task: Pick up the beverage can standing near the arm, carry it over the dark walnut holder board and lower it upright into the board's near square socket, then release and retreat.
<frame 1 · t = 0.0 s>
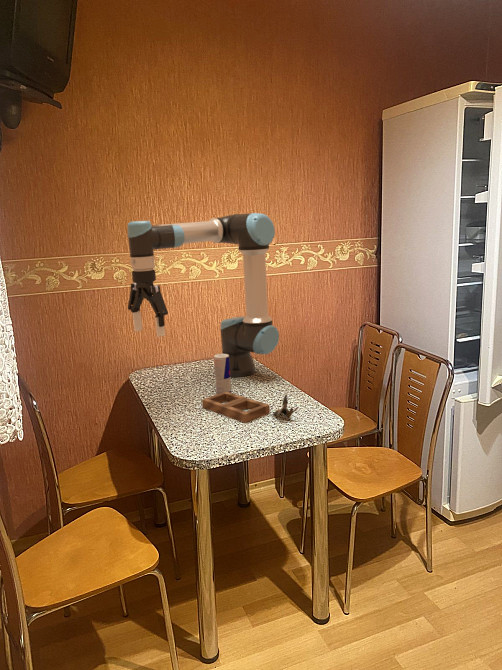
hand: (149, 333, 184), 28 cm above the table, fingers open, 13 cm apart
walnut holder board: (235, 410, 189), on the table
beverage can: (224, 394, 206), on the table
eagle figurine: (284, 417, 181), on the table
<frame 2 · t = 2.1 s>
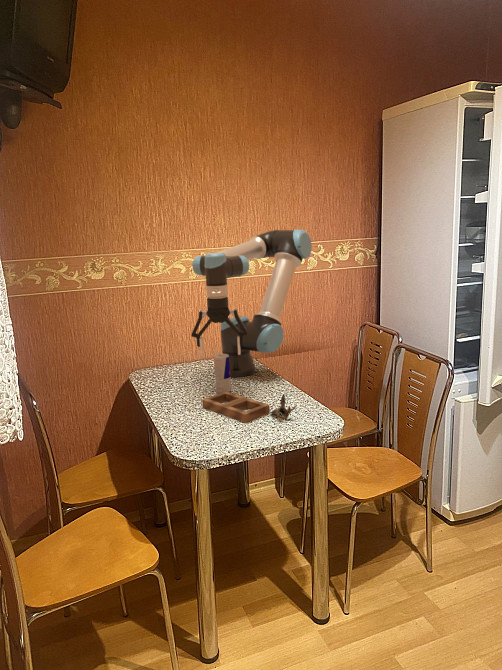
hand: (220, 354, 202), 15 cm above the table, fingers open, 13 cm apart
eagle figurine: (282, 416, 182), on the table
everything else where it was.
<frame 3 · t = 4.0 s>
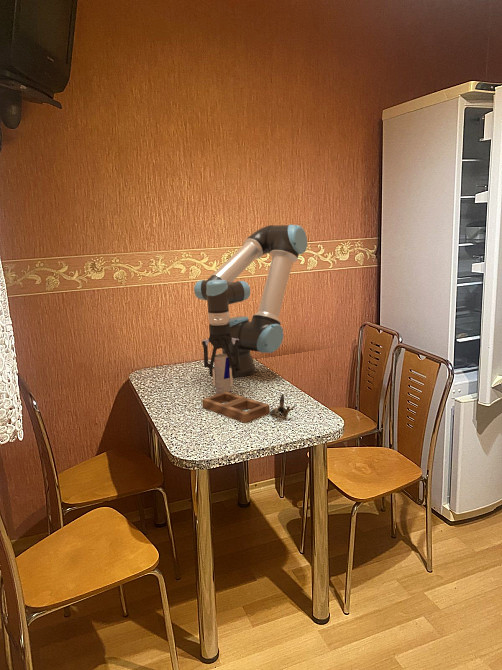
hand: (223, 384, 205), 4 cm above the table, fingers closed on beverage can, 5 cm apart
beverage can: (224, 394, 206), on the table, touching gripper
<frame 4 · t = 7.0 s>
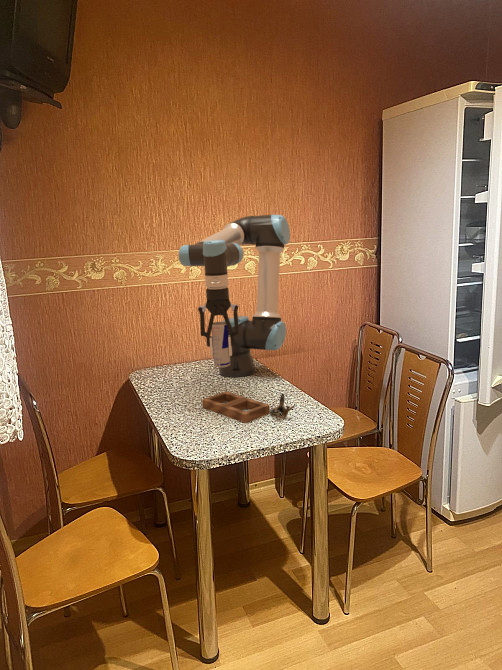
hand: (221, 355, 189), 19 cm above the table, fingers closed on beverage can, 5 cm apart
beverage can: (222, 366, 190), point 15 cm above the table, touching gripper
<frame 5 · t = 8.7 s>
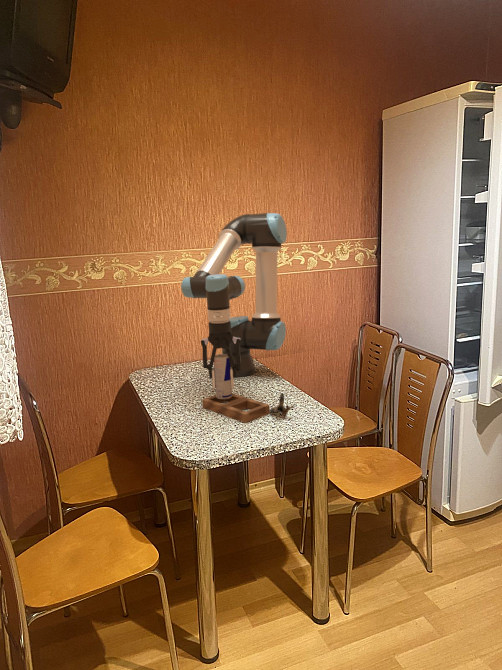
hand: (223, 386, 191), 7 cm above the table, fingers closed on beverage can, 5 cm apart
beverage can: (224, 397, 192), point 3 cm above the table, touching gripper
when the fingers open (5 cm above the table, at t = 10.3 s): beverage can drops 1 cm, resting in walnut holder board.
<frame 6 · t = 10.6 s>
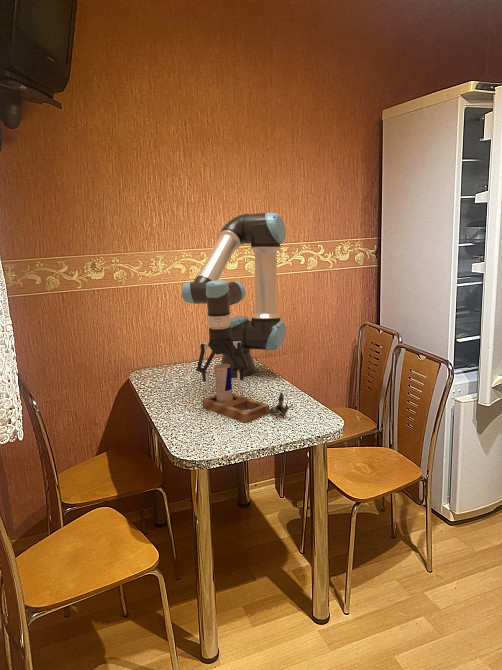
hand: (223, 389, 192), 6 cm above the table, fingers open, 10 cm apart
beverage can: (225, 407, 193), resting in walnut holder board
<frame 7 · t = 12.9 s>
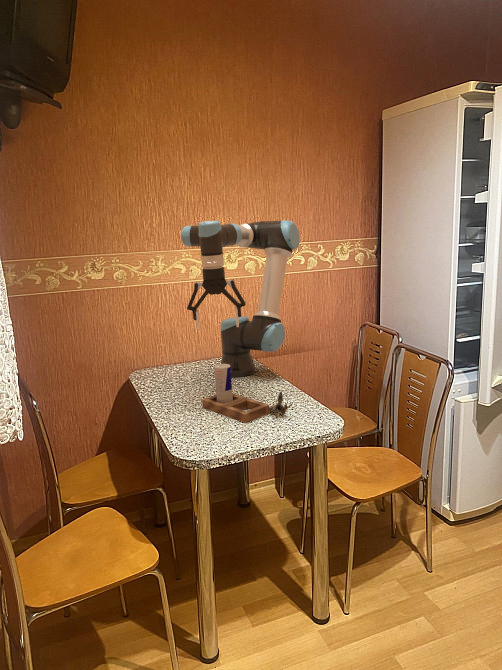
hand: (218, 327, 194), 27 cm above the table, fingers open, 13 cm apart
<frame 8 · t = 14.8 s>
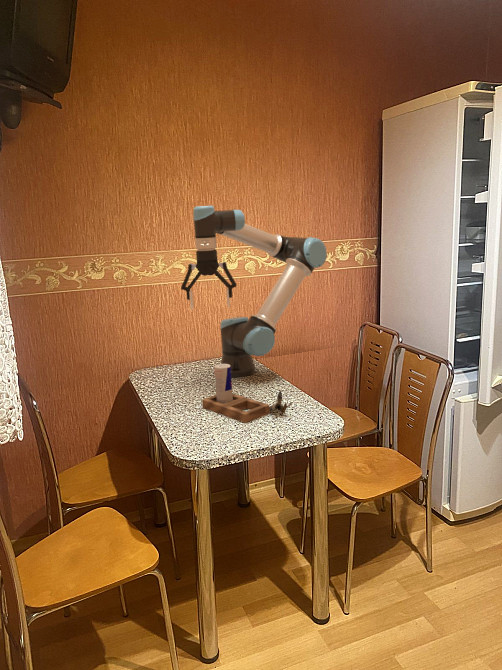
hand: (210, 307, 205), 32 cm above the table, fingers open, 13 cm apart
at the end: beverage can 0.1 cm from the target spot on the walnut holder board, point 0.0 cm above the walnut holder board's base; beverage can tilted 0°; beverage can touching table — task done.
